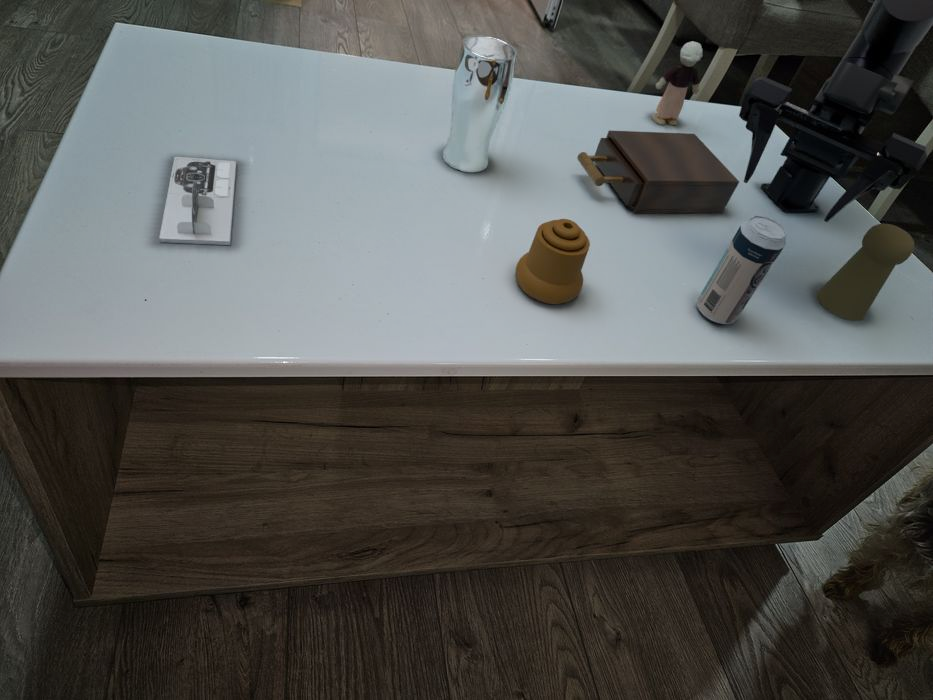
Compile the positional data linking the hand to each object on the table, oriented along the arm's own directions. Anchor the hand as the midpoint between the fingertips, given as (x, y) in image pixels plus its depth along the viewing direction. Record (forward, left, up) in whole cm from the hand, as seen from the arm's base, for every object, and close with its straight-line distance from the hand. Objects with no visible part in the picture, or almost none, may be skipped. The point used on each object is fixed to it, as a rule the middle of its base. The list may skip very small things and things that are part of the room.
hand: (785, 200), depth 74 cm
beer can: (+5, +4, -13) cm, 14 cm away
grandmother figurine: (-12, -40, -13) cm, 44 cm away
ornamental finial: (+24, -2, -13) cm, 27 cm away
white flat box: (+59, -18, -13) cm, 63 cm away
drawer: (+3, -21, -12) cm, 24 cm away
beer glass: (+26, -27, -13) cm, 40 cm away
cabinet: (-1, -21, -12) cm, 25 cm away
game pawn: (-14, +4, -13) cm, 19 cm away
